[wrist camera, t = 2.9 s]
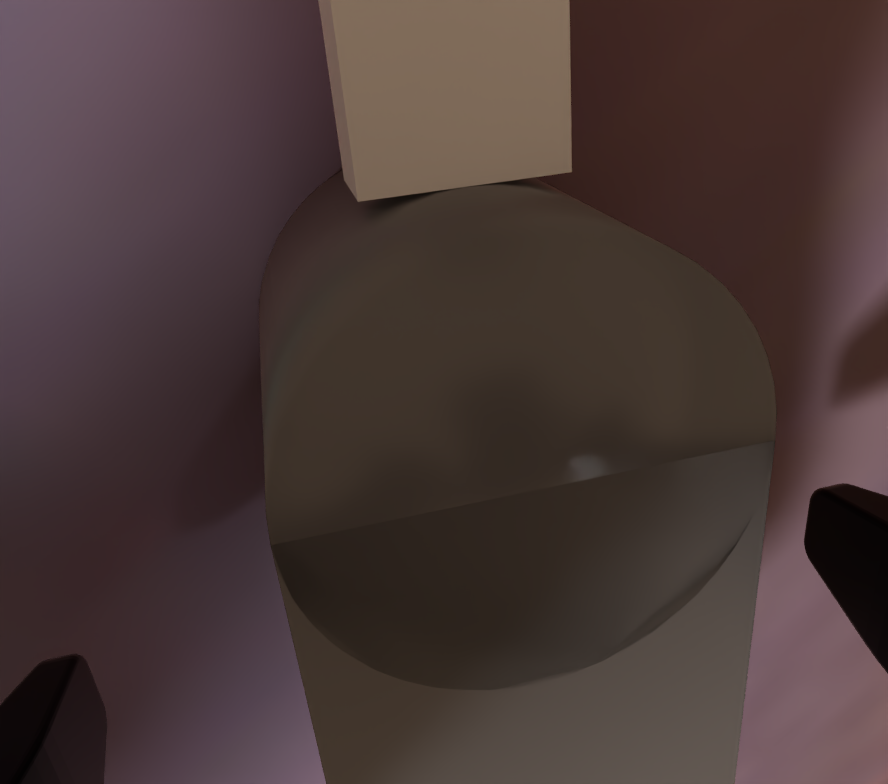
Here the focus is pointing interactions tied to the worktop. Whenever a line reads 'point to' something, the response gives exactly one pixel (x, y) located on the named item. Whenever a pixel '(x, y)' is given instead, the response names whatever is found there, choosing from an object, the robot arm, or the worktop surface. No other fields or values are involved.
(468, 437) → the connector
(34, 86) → the worktop surface
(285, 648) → the worktop surface
